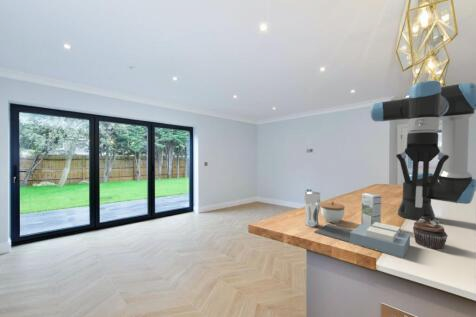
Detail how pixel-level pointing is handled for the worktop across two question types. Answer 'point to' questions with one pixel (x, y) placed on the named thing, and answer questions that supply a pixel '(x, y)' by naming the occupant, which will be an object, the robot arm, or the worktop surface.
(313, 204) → the beer glass
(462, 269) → the worktop surface
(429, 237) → the cupcake
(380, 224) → the rear tile
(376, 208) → the syrup box
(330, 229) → the mat
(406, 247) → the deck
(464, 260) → the worktop surface
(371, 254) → the worktop surface
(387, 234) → the front tile
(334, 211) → the lidded jar
